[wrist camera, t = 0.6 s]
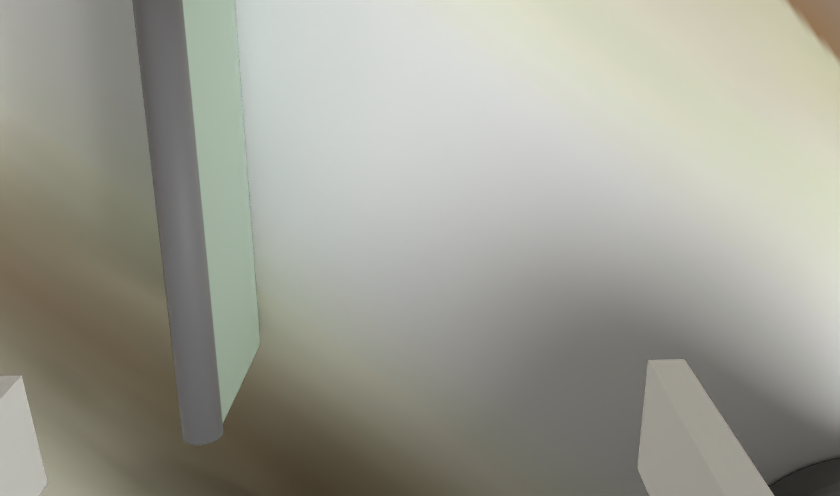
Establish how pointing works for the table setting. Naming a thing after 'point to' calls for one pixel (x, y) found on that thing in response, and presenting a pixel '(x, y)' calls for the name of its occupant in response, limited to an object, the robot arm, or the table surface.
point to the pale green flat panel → (200, 201)
